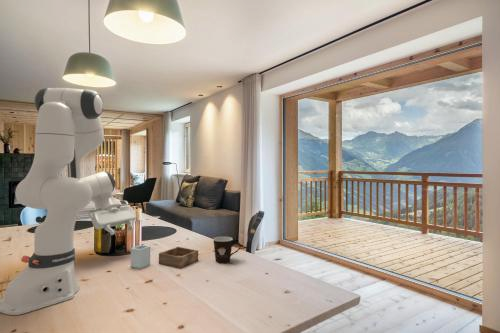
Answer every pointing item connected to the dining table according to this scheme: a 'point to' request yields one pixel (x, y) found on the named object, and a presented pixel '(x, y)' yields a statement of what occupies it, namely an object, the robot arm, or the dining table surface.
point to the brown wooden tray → (178, 257)
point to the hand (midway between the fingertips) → (123, 231)
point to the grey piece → (140, 256)
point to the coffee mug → (223, 249)
